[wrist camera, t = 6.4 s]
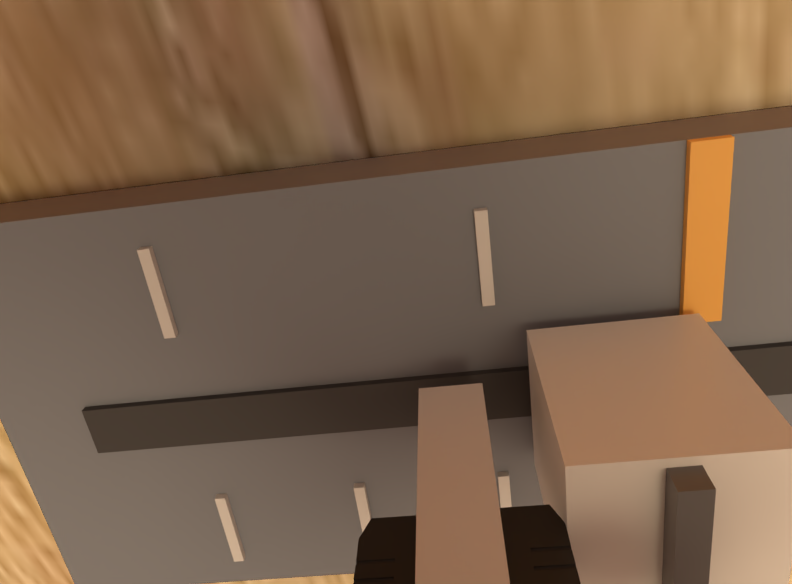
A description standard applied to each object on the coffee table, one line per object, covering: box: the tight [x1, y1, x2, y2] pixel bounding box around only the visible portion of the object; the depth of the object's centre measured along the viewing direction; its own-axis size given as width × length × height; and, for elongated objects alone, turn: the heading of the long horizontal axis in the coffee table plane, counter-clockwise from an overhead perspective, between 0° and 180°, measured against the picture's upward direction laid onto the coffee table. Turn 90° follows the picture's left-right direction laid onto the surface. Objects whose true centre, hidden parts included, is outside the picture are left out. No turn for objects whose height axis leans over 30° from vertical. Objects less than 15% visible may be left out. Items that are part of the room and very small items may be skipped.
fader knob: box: [526, 313, 792, 584], centre depth 14 cm, size 4×4×6 cm
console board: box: [0, 106, 792, 584], centre depth 18 cm, size 12×27×2 cm, turn 98°
